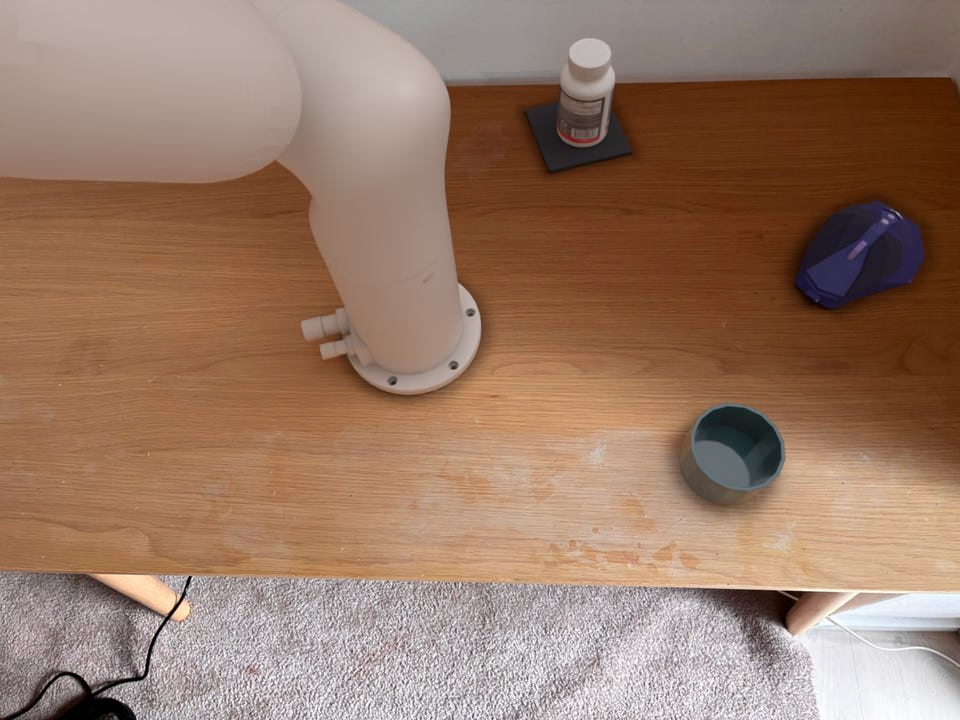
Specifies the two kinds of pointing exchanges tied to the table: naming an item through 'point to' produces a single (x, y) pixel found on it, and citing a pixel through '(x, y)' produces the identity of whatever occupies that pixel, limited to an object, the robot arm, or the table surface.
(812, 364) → the table surface
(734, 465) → the cup
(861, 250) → the computer mouse
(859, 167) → the table surface
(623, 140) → the mat
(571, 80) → the pill bottle
